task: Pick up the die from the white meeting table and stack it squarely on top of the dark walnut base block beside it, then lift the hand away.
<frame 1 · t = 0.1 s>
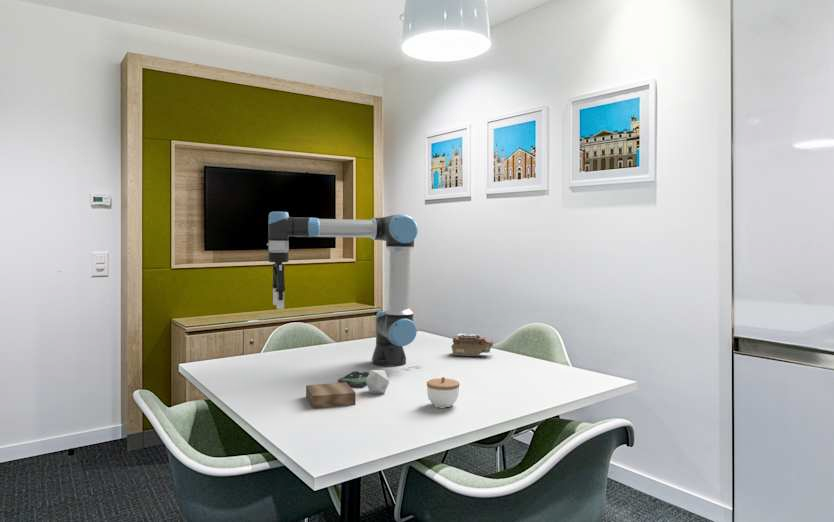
hand: (278, 306, 217), 28 cm above the table, tool pointing down, fingers open, 13 cm apart
decorative box: (473, 355, 266), on the table
die: (377, 392, 200), on the table
disk drive: (358, 383, 214), on the table
lidded jar: (442, 406, 185), on the table
walnut base: (330, 400, 189), on the table
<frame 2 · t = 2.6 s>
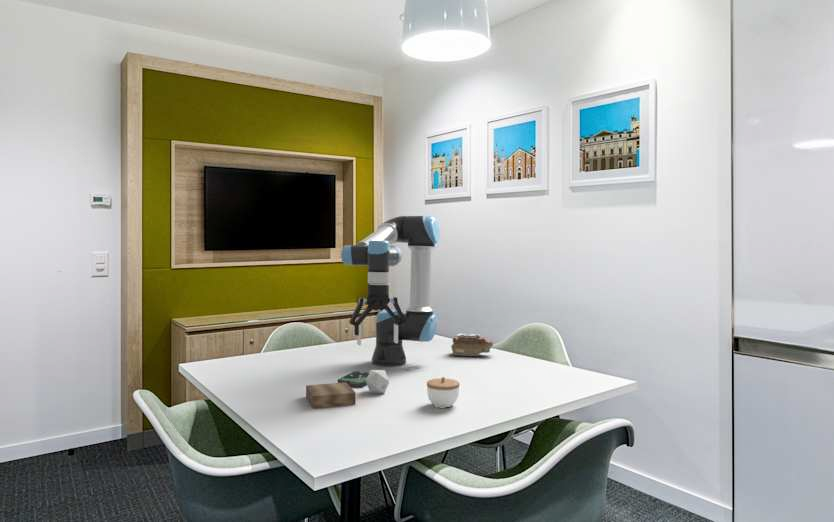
hand: (377, 343, 200), 17 cm above the table, tool pointing down, fingers open, 13 cm apart
nothing on the table moved.
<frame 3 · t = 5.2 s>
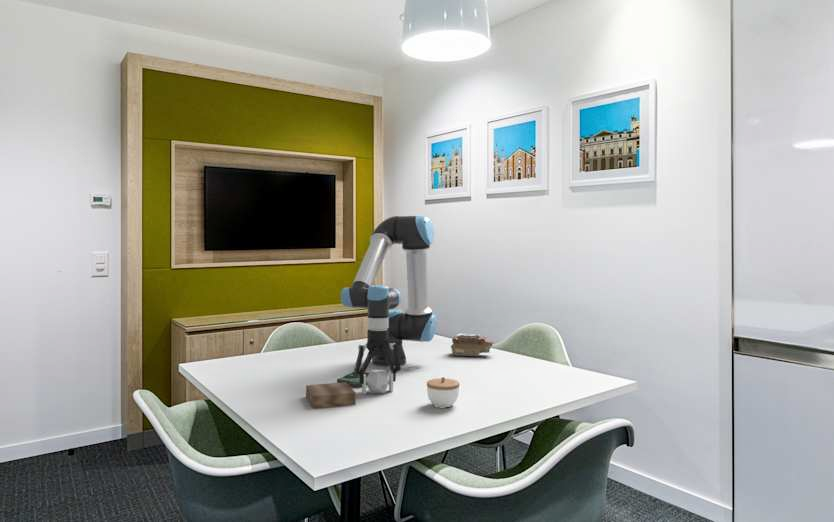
hand: (377, 391, 200), 0 cm above the table, tool pointing down, fingers closed on die, 9 cm apart
die: (377, 392, 200), on the table, touching gripper
everything else where it was.
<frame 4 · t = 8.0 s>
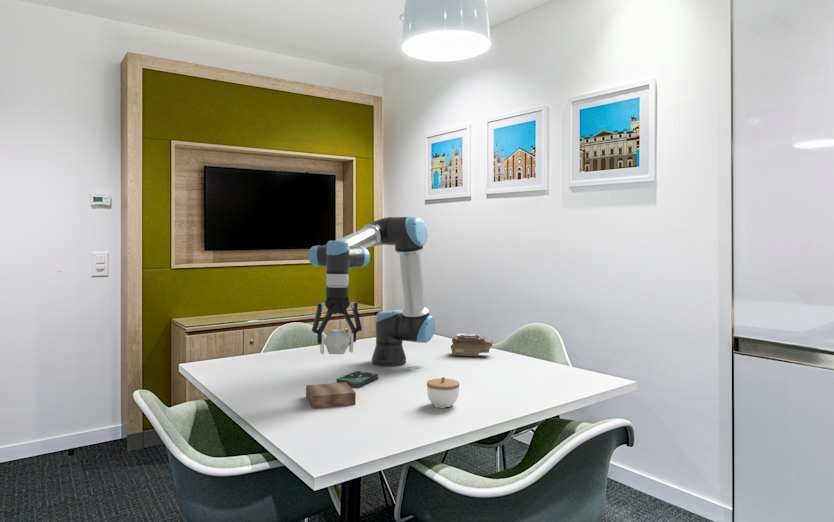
hand: (336, 352, 190), 16 cm above the table, tool pointing down, fingers closed on die, 9 cm apart
die: (336, 353, 190), point 16 cm above the table, touching gripper
everything else where it was.
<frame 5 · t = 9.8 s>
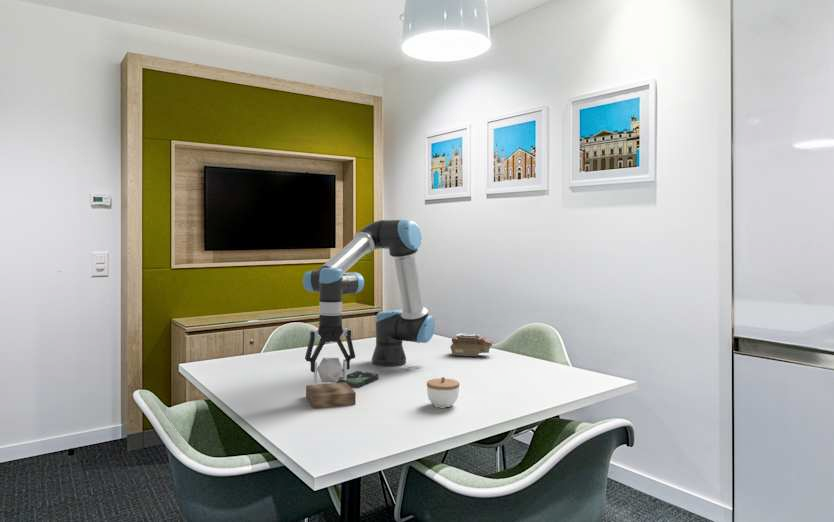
hand: (330, 380, 189), 7 cm above the table, tool pointing down, fingers closed on die, 9 cm apart
die: (330, 381, 189), point 6 cm above the table, touching gripper
everything else where it was.
when the fingers open (5 cm above the table, at t = 11.0 s): die drops 1 cm, resting on walnut base.
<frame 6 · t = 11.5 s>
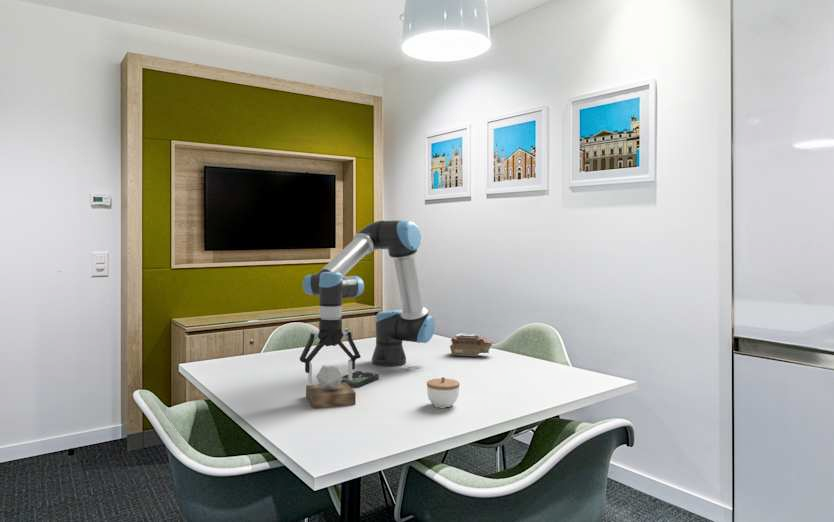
hand: (330, 380, 189), 7 cm above the table, tool pointing down, fingers open, 13 cm apart
die: (329, 389, 189), point 4 cm above the table, touching walnut base
everything else where it was.
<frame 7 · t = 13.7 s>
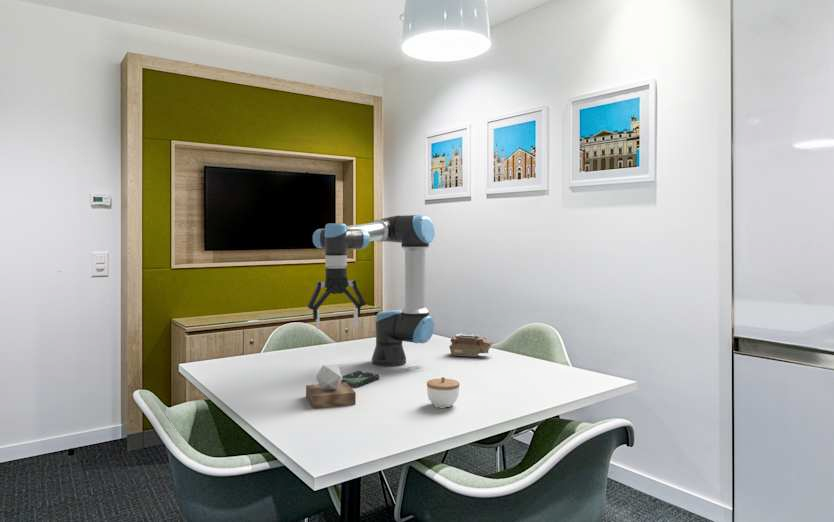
hand: (337, 327, 199), 23 cm above the table, tool pointing down, fingers open, 13 cm apart
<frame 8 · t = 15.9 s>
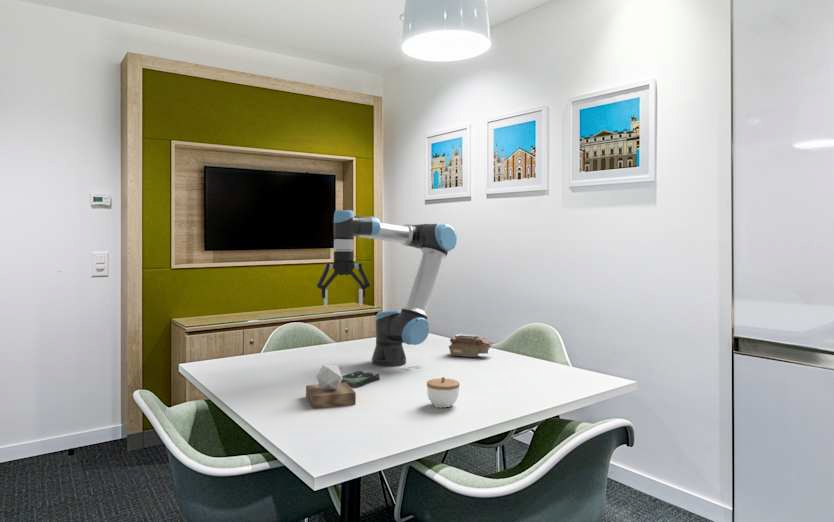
hand: (343, 306, 215), 29 cm above the table, tool pointing down, fingers open, 13 cm apart
at the end: die inside the target area on the walnut base (0.2 cm from its centre), point 3.8 cm above the walnut base's base; die tilted 0°; the gripper is holding nothing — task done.
